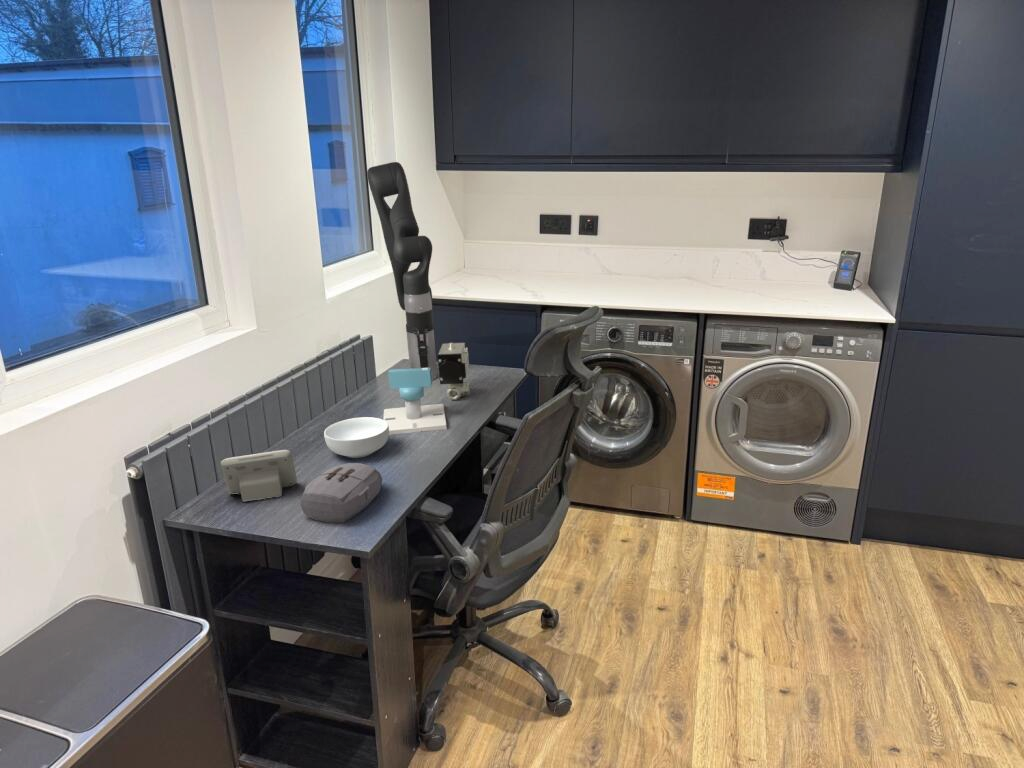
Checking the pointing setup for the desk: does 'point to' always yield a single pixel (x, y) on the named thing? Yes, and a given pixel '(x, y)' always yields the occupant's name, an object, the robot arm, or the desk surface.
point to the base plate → (421, 422)
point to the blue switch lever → (410, 382)
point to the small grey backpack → (341, 492)
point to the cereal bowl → (357, 436)
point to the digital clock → (259, 474)
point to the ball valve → (454, 368)
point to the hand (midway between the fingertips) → (423, 363)
